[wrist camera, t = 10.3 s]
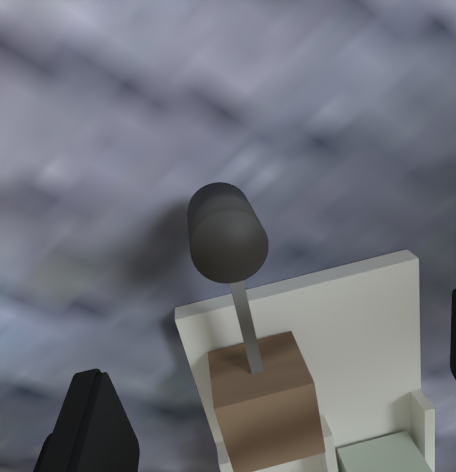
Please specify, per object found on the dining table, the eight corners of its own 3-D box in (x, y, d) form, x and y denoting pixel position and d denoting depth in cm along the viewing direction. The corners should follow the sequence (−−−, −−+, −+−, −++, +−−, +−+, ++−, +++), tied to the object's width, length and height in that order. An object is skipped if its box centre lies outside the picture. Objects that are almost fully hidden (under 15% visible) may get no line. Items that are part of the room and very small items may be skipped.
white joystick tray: (174, 307, 28) (174, 376, 21) (406, 249, 28) (472, 299, 22) (241, 514, 37) (255, 603, 31) (413, 468, 38) (460, 547, 31)
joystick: (159, 192, 22) (154, 229, 17) (261, 167, 23) (287, 196, 17) (225, 413, 30) (236, 487, 24) (302, 393, 30) (329, 462, 24)
